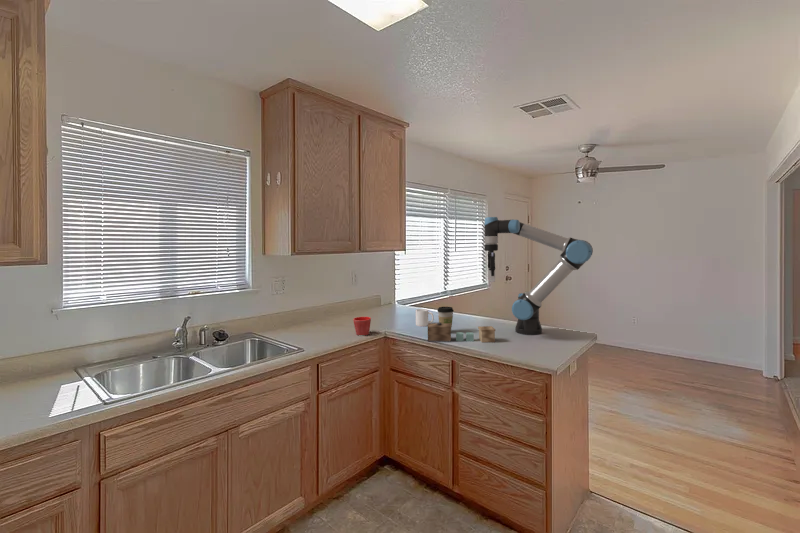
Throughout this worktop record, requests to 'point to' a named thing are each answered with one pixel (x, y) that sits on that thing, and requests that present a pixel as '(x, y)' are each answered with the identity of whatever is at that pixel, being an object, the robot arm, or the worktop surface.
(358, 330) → the flower pot
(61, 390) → the worktop surface
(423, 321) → the cup
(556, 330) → the worktop surface
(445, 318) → the coffee cup
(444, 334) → the brown wooden box
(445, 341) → the mat
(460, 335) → the cube
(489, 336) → the oak box
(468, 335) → the cube
